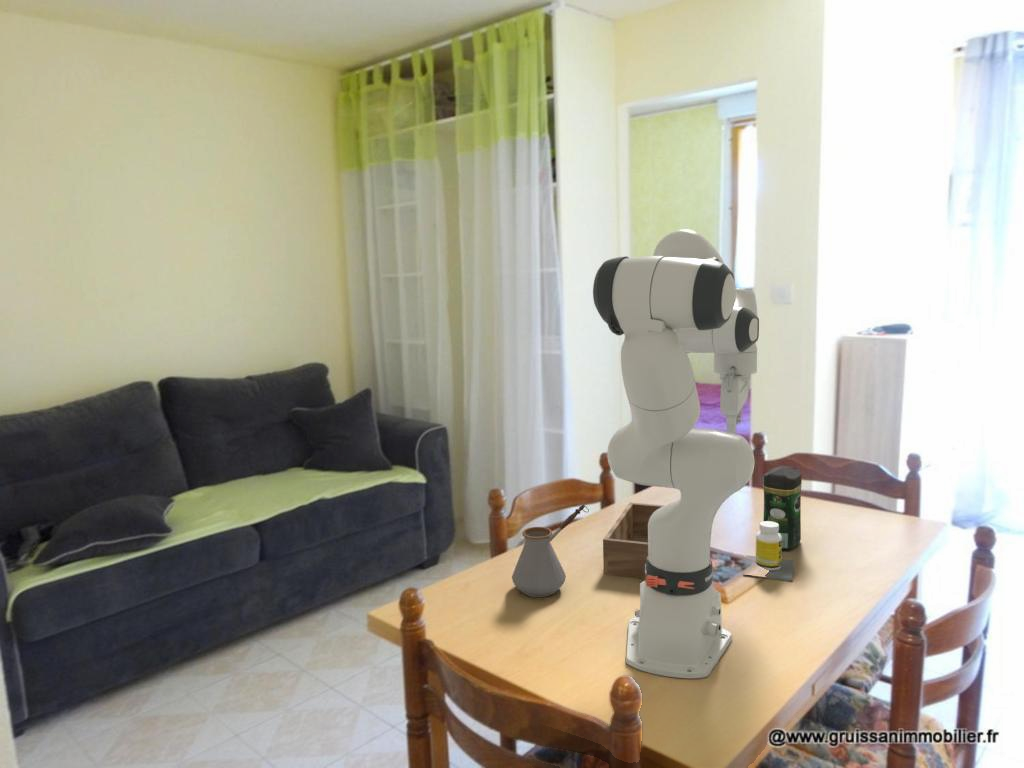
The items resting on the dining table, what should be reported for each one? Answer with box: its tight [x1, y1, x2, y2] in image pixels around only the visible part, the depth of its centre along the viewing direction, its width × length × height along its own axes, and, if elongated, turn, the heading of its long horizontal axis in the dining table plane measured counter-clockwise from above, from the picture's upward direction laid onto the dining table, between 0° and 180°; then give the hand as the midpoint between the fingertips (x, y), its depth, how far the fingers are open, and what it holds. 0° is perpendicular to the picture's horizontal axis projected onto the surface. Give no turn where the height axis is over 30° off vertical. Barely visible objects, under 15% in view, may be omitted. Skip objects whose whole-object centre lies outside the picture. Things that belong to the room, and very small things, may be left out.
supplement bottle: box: [755, 521, 783, 571], centre depth 161 cm, size 5×5×10 cm
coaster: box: [746, 555, 794, 582], centre depth 161 cm, size 10×10×1 cm
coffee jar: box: [762, 465, 802, 551], centre depth 174 cm, size 10×8×19 cm
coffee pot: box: [511, 504, 590, 598], centre depth 158 cm, size 21×12×15 cm, turn 133°
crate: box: [602, 502, 665, 580], centre depth 171 cm, size 26×14×8 cm, turn 158°
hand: (734, 428), depth 158 cm, fingers open, 8 cm apart
